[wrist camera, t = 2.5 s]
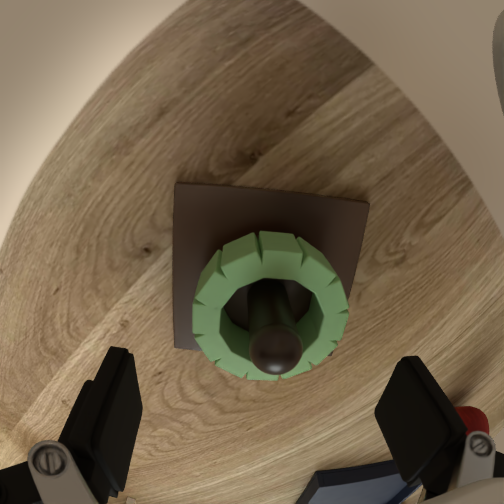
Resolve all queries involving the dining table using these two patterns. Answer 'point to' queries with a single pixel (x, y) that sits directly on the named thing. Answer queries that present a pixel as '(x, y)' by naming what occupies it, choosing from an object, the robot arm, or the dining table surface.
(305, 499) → the tray
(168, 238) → the dining table surface
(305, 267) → the ring
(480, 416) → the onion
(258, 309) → the stand
